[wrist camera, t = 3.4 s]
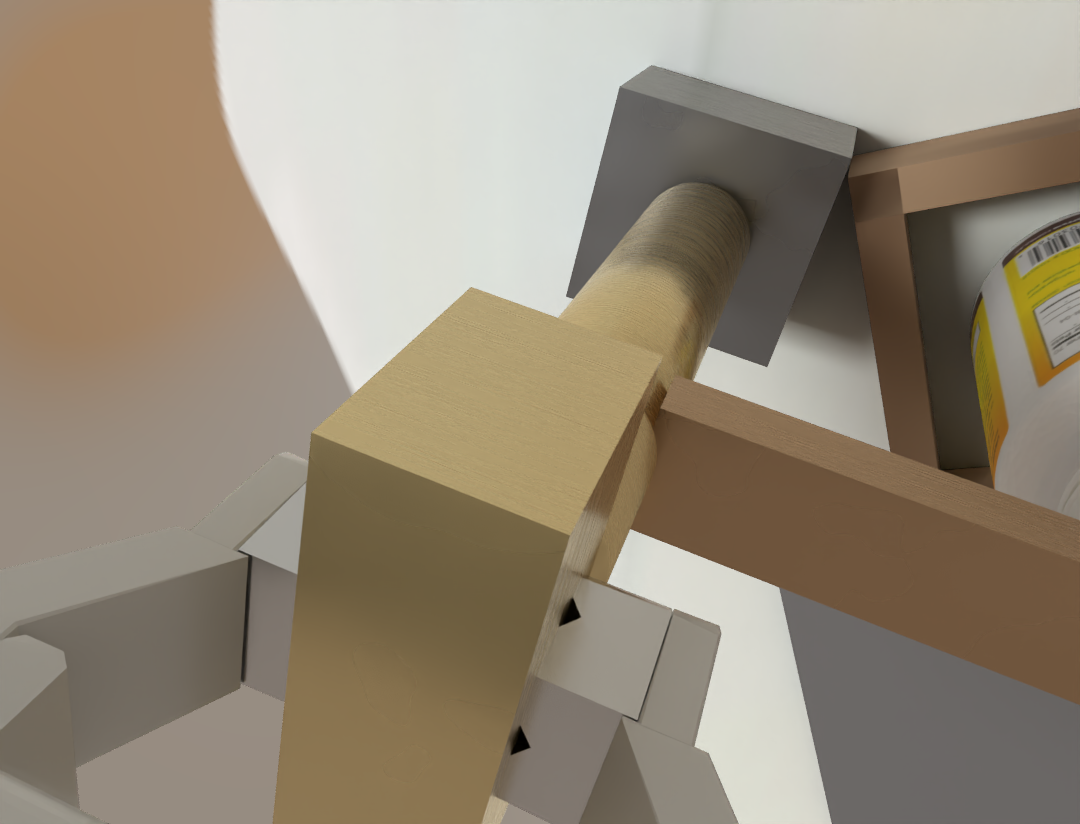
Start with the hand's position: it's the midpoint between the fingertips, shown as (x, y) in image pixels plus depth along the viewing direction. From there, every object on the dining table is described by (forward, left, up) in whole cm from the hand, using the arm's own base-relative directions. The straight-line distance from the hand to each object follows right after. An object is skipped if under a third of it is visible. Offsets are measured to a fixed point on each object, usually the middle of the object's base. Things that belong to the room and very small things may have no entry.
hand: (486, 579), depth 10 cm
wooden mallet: (-5, +3, -12) cm, 13 cm away
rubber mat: (-5, +17, -16) cm, 23 cm away
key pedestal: (0, 0, -16) cm, 16 cm away
